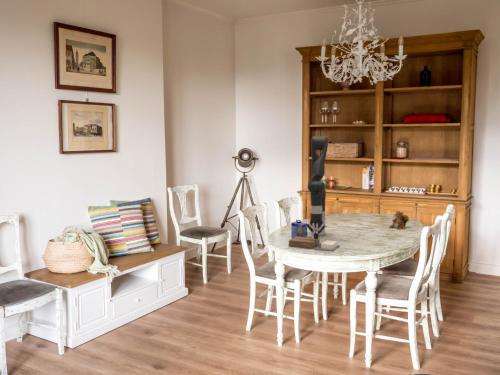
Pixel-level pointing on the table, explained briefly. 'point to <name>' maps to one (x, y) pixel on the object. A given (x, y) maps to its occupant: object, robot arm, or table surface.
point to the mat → (324, 249)
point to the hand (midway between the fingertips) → (316, 239)
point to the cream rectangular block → (329, 245)
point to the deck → (304, 242)
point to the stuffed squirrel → (399, 220)
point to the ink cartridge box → (298, 229)
